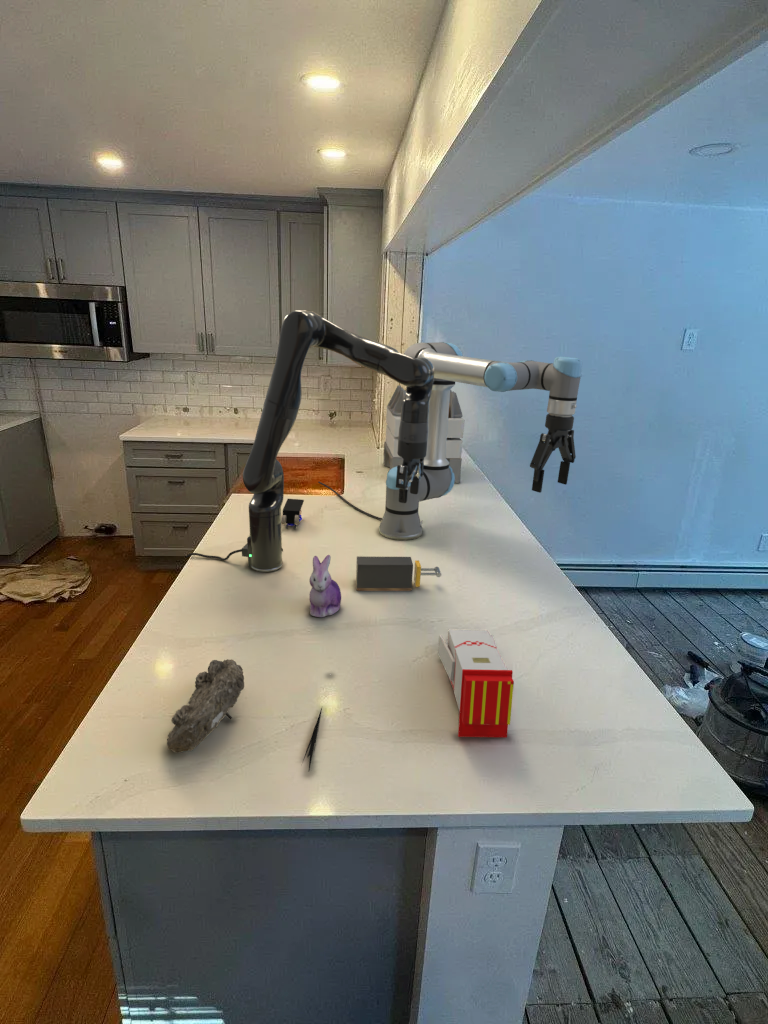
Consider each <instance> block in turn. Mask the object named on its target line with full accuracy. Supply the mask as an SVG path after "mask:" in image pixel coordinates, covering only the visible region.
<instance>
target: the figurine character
mask: <svg viewBox="0 0 768 1024" xmlns="http://www.w3.org/2000/svg"><path fill="white" fill-rule="evenodd" d="M304 501H305V499H300V498H299V499H298V498H286V502H285V503H284V506H283V508H282V514H281V526H285V530H288V529H289V526H290V527H293V530H296V529H297V526H299V525H300V522H301V521H302V520H303V517H302V514H303V513H302V508H303V504H304Z"/></svg>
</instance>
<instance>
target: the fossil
mask: <svg viewBox="0 0 768 1024" xmlns="http://www.w3.org/2000/svg"><path fill="white" fill-rule="evenodd" d="M243 670H244V669H243V667H242V665H240V664H237V662H236V661H235V660H234V659H232V658H231V659H227V658H226V659H224V660H223V661H222V660H217V659H212V660H211V661H210V663H209V665H208V666H207V671H201V672H199V673H198V674H197V675H196V676H195V680H194V684H195V685H194V687H195V689H194V690H193V693H192V694H191V697H190V698H189V700H188V704H184V705H182V706H181V707H180V709H177V710H176V711H175V713H174V715H173V716H172V718H171V723H172V724H173V727H172V730H171V731H170V732H168V734H167V738H166V741H167V742H166V745H167V749H168V750H169V751H173V752H174V753H176V754H178V753H182V752H188V751H189V752H192V751H193V750H195V748H196V747H197V746H199V744H200V743H201V742H203V741H204V740H205V739H206V738H207V737H208V736H209V735H210V734H211V733H212V732H214V730H215V729H217V727H218V726H219V724H220V722H221V721H222V720H223V719H224V718H225V716H226V717H227V719H229V720H233V717H232V715H230V714H229V710H230V709H231V708H234V706H235V704H236V703H237V702H238V699H239V697H240V695H241V693H242V691H243V690H245V689H244V688H245V675H244V671H243Z"/></svg>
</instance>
